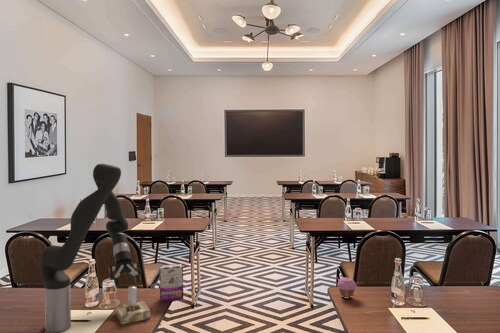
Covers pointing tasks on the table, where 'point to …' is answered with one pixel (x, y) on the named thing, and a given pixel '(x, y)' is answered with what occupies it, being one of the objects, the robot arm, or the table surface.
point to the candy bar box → (171, 282)
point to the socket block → (132, 313)
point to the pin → (132, 298)
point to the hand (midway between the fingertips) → (127, 285)
